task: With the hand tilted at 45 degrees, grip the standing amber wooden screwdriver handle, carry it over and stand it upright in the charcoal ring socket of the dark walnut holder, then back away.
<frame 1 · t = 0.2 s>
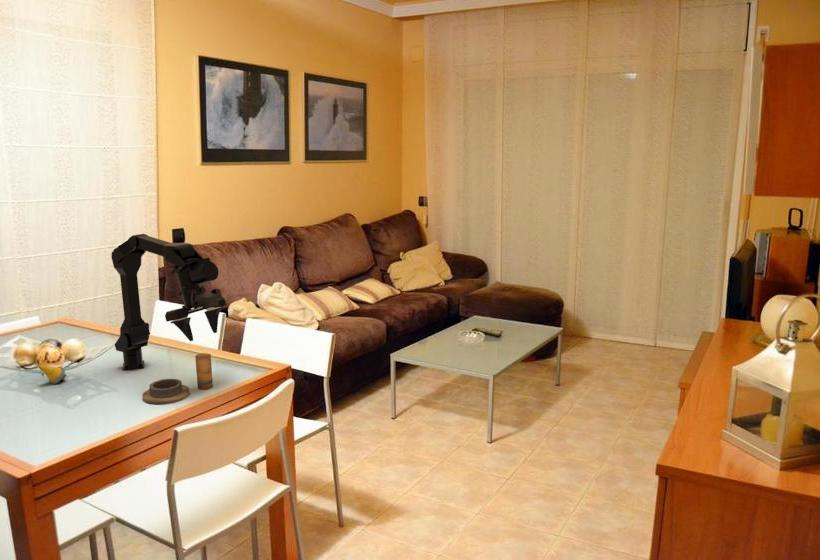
hand: (203, 336, 202), 15 cm above the table, fingers open, 9 cm apart
driver handle: (205, 387, 204), on the table
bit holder: (166, 395, 197), on the table
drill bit: (55, 384, 207), on the table
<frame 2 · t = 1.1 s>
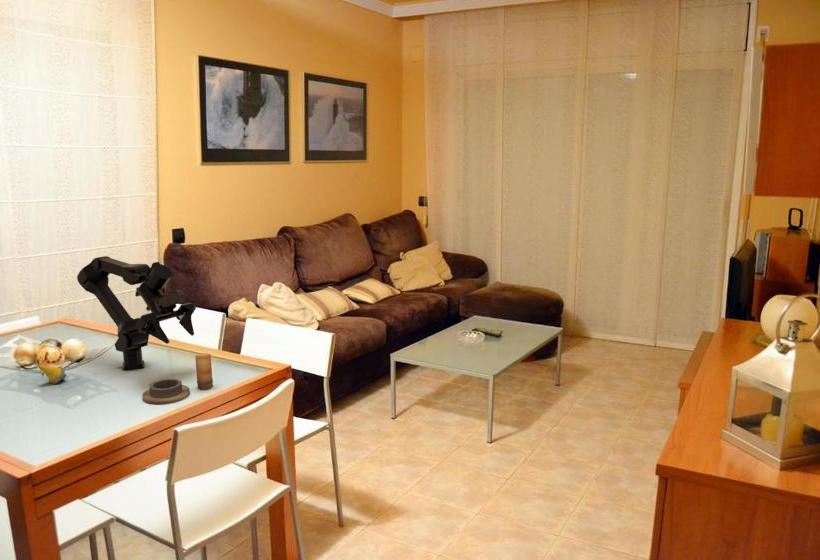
hand: (181, 338, 206), 14 cm above the table, fingers open, 9 cm apart
nothing on the table moved.
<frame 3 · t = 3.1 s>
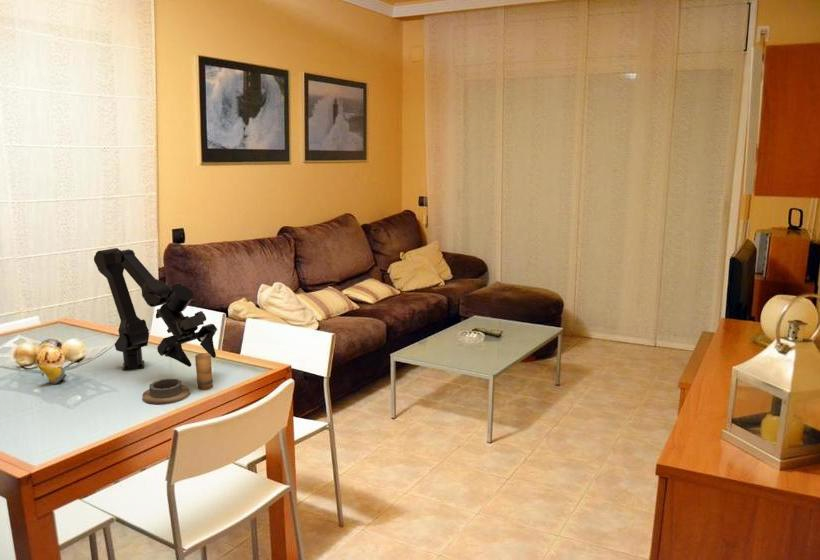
hand: (203, 361, 202), 8 cm above the table, fingers open, 9 cm apart
nothing on the table moved.
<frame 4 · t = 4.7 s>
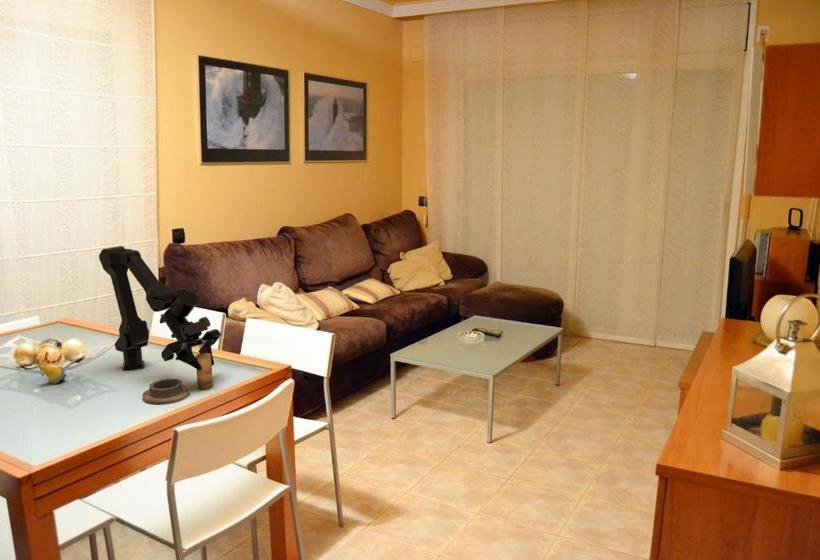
hand: (207, 367, 201), 7 cm above the table, fingers closed on driver handle, 4 cm apart
driver handle: (205, 387, 204), on the table, touching gripper
everything else where it was.
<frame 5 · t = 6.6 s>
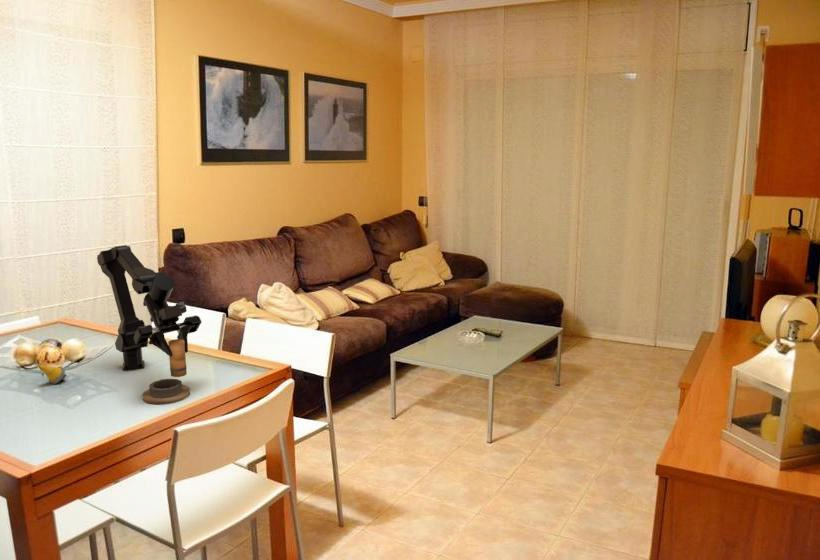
hand: (179, 353, 195), 12 cm above the table, fingers closed on driver handle, 4 cm apart
driver handle: (178, 374, 198), point 6 cm above the table, touching gripper
everything else where it was.
when the fingers open (9 cm above the table, at t = 8.5 s): driver handle drops 1 cm, resting on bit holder.
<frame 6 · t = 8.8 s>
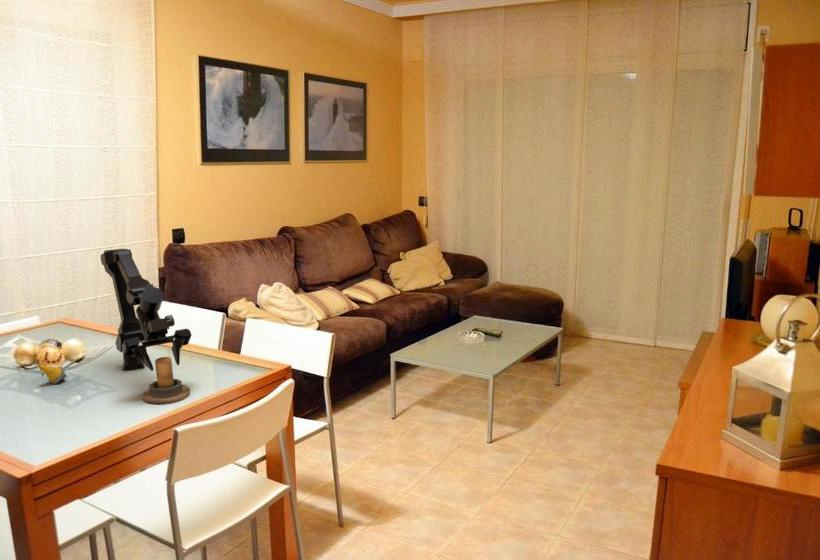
hand: (165, 367, 194), 9 cm above the table, fingers open, 7 cm apart
driver handle: (166, 392, 197), point 1 cm above the table, touching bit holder
everything else where it was.
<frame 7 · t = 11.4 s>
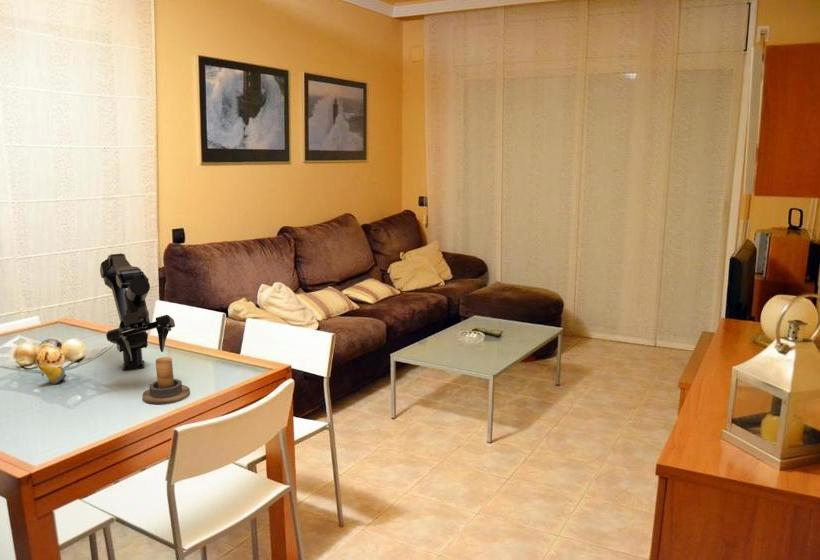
hand: (146, 356, 202), 10 cm above the table, fingers open, 9 cm apart
nothing on the table moved.
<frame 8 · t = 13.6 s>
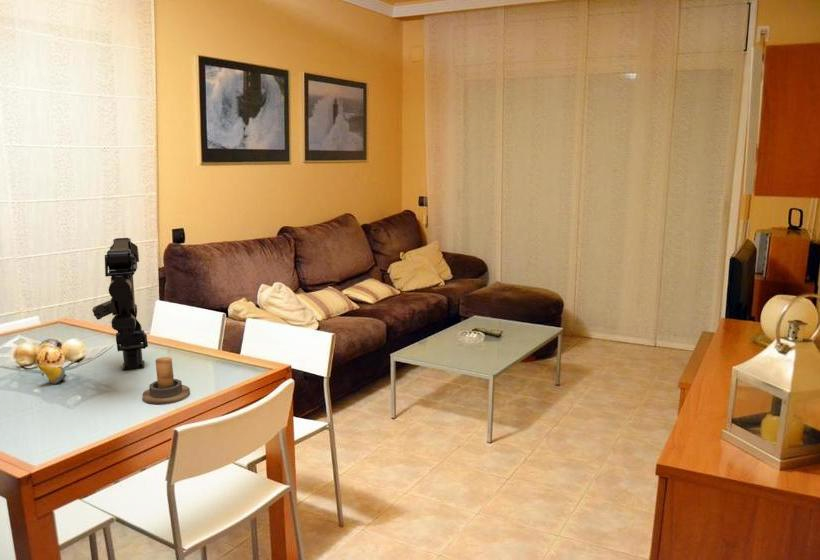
hand: (127, 342, 204), 13 cm above the table, fingers open, 9 cm apart
nothing on the table moved.
at the end: driver handle 0.1 cm off-centre on the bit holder, point 1.0 cm above the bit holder's base; driver handle tilted 0°; the gripper is holding nothing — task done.
